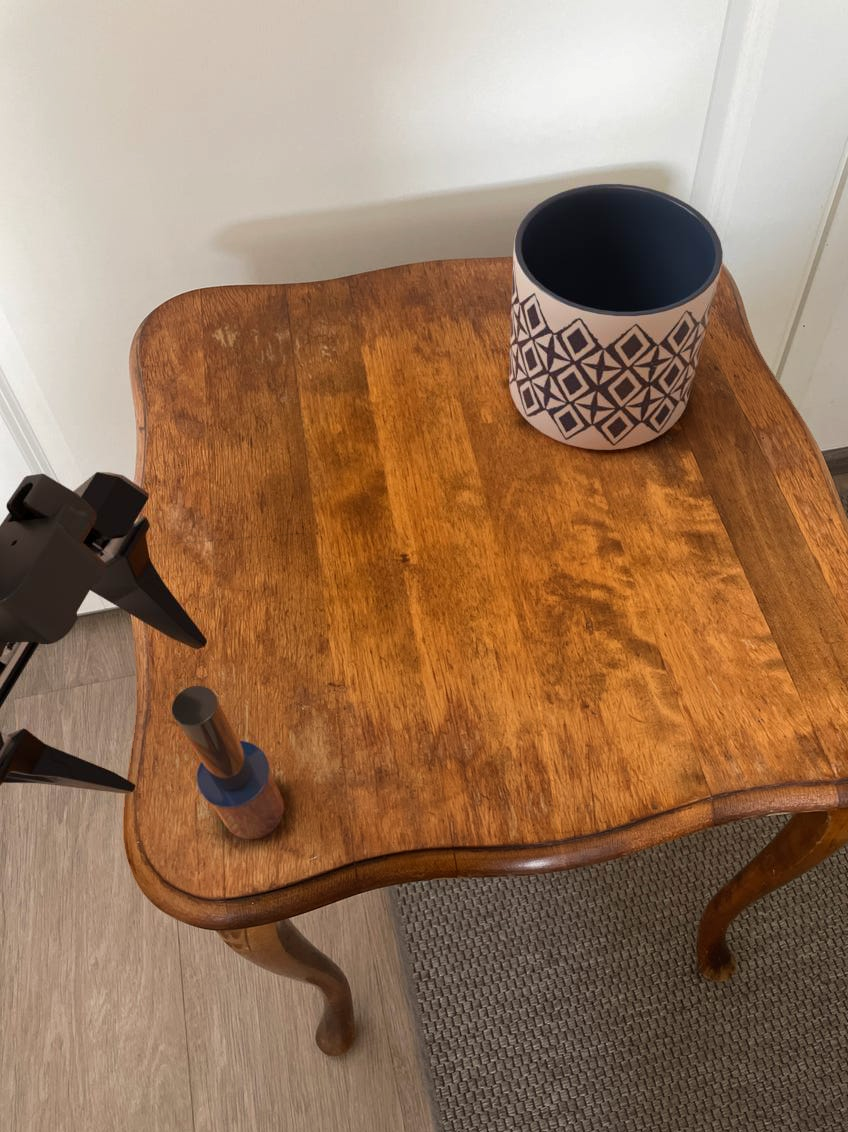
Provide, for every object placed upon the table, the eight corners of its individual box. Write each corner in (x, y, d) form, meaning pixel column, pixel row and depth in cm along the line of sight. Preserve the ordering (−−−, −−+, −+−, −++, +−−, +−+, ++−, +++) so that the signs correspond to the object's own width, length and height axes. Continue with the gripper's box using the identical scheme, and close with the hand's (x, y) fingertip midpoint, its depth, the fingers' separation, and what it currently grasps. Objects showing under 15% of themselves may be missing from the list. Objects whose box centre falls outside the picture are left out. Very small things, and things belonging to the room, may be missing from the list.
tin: (222, 842, 61) (199, 809, 56) (225, 785, 64) (203, 749, 59) (283, 836, 62) (266, 803, 57) (284, 780, 64) (267, 743, 59)
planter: (685, 332, 87) (718, 187, 75) (690, 460, 79) (729, 322, 66) (514, 322, 88) (520, 177, 75) (502, 448, 79) (506, 309, 67)
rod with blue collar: (194, 760, 59) (145, 684, 50) (262, 738, 60) (225, 658, 51) (209, 823, 57) (161, 754, 48) (280, 798, 57) (245, 726, 49)
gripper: (-211, 694, 33) (161, 869, 41) (46, 345, 43) (310, 543, 51) (-255, 736, 41) (66, 877, 49) (-29, 433, 51) (210, 593, 59)
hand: (168, 714), depth 52 cm, fingers open, 9 cm apart
